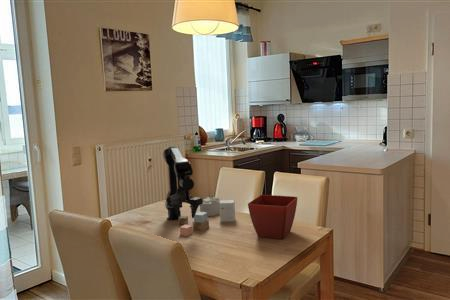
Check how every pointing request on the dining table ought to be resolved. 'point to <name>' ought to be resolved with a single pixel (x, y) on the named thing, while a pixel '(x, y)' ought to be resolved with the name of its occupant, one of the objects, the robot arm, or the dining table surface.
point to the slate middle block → (200, 217)
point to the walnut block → (183, 220)
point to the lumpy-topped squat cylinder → (210, 206)
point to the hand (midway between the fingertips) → (185, 216)
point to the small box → (227, 211)
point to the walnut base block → (201, 225)
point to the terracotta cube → (186, 230)
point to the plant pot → (272, 215)
